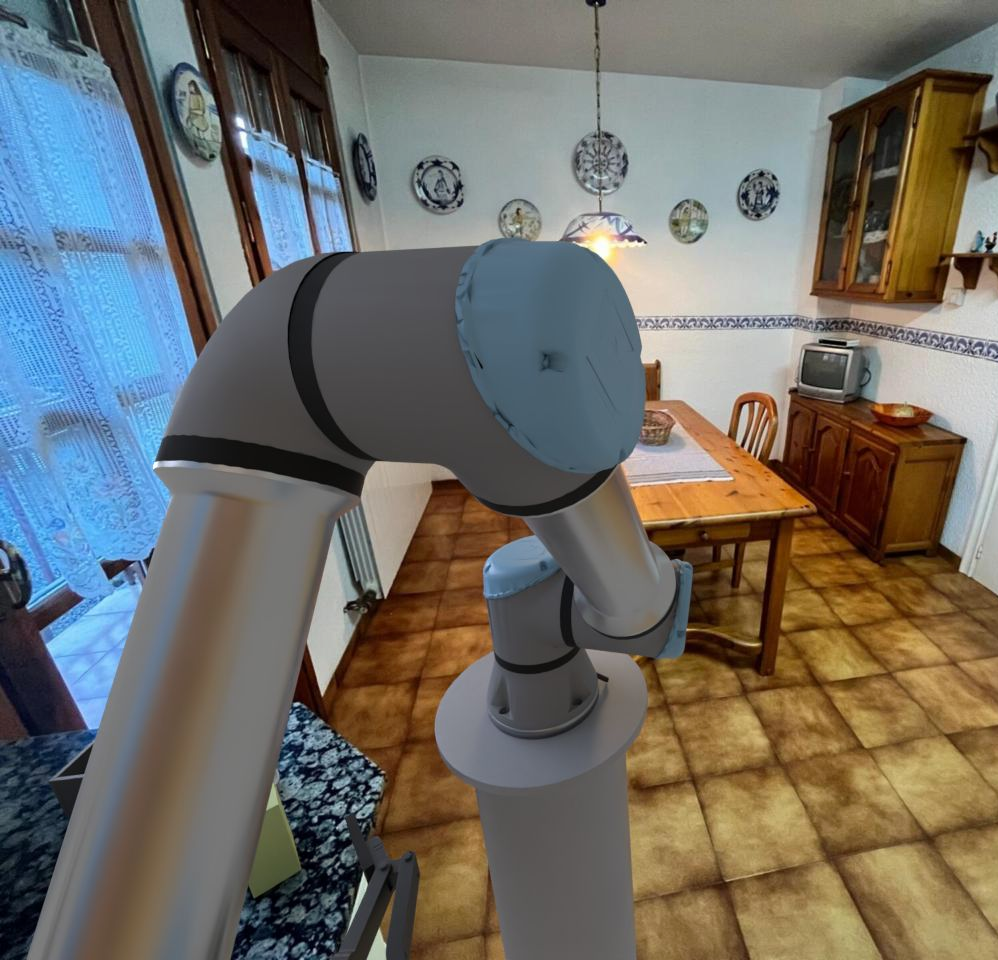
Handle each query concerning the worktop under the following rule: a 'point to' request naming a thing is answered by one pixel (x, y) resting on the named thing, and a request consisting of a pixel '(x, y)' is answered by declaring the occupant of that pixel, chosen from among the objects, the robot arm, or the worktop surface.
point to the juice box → (274, 849)
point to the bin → (70, 780)
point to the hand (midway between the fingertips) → (265, 876)
